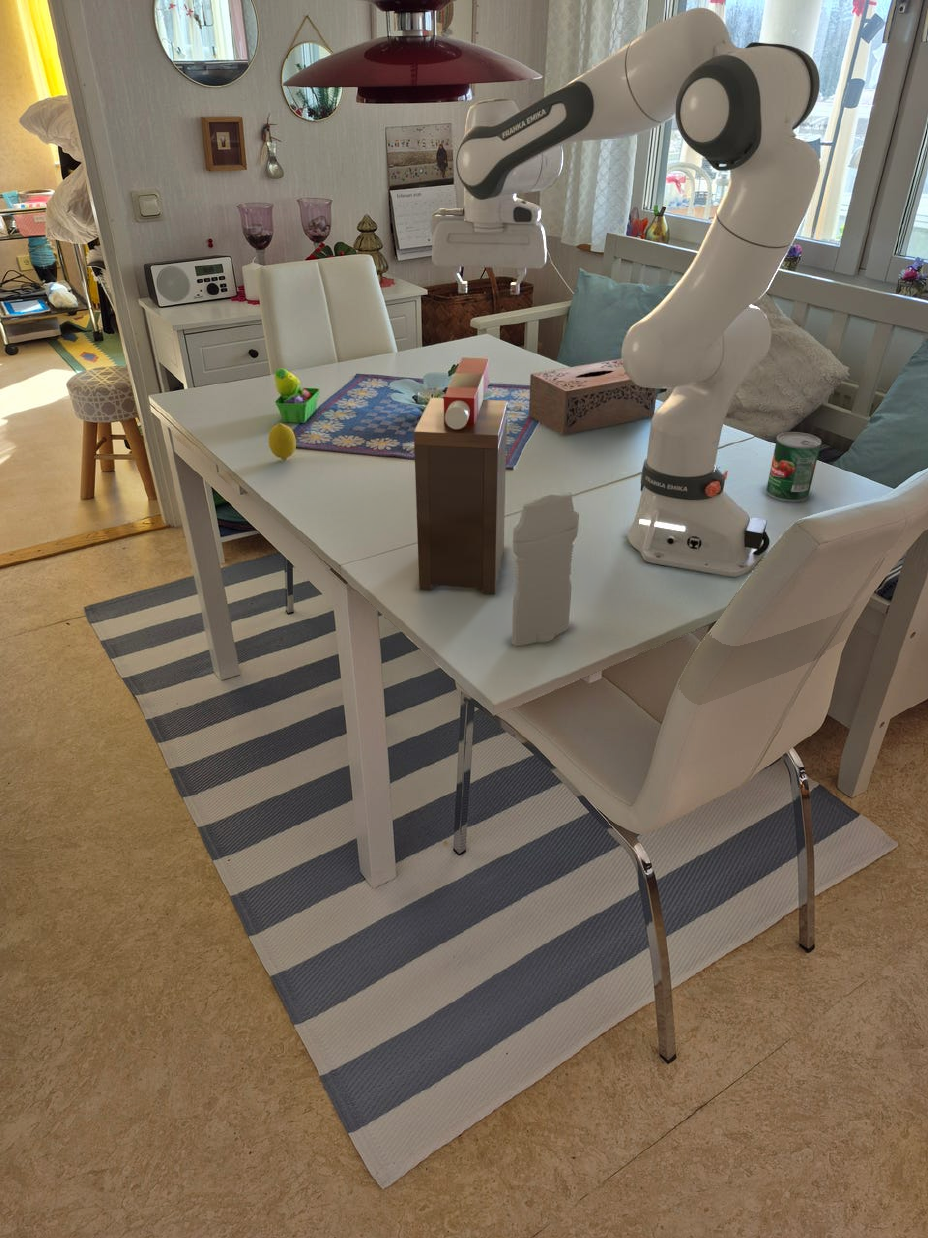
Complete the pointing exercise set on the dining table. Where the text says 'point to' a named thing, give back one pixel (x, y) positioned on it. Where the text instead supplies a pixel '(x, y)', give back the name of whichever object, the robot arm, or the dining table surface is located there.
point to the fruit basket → (294, 398)
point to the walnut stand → (460, 497)
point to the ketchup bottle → (466, 392)
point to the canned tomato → (793, 466)
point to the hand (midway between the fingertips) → (488, 293)
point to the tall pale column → (543, 568)
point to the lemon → (282, 441)
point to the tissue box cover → (588, 397)
